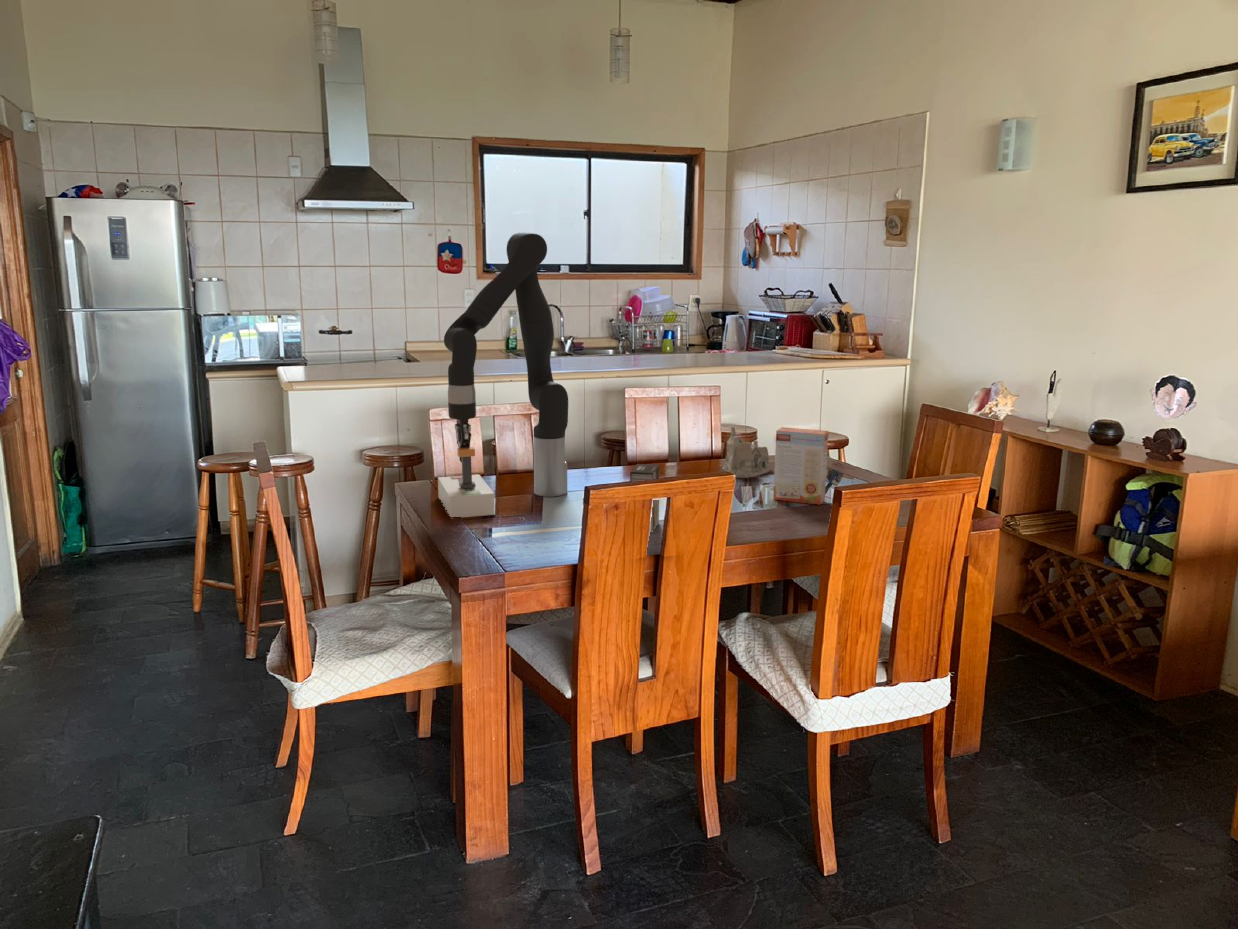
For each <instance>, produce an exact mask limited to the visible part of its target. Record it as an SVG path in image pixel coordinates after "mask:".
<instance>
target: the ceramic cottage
mask: <svg viewBox="0 0 1238 929" xmlns="http://www.w3.org/2000/svg"><path fill="white" fill-rule="evenodd" d="M730 428H731V429H730V437H729V439H727V441H726V444H727V453H726V457H725V463H724V464H723V465H722V469H726V470H724V471H727V472H734V473H735V474H736V477H735V478H740V479H741V478H742V479H745V478H746V479H747V478H748V479H749V478H756V477H757V476H761V475H763V474H766V473H769V472H770V468H769V466H768V464H769V461H770V460H769V458H770V457H769V455H770V454H769V451H768V450H769V449H768V447H767V446H758V445H759V444H758V440H757V439H756V440H753V444H752V443H751V442H750V441H745V442H744V440H743V439H742V437H740V436H739V435H738V434H736V432H737V431H736V428H735V426H734V425H733V426H732V425H731V427H730Z"/></svg>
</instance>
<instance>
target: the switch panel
mask: <svg viewBox="0 0 1238 929" xmlns="http://www.w3.org/2000/svg"><path fill="white" fill-rule="evenodd" d="M472 481H473V482H474V483H475V488H463V489H461V488H460V487H459V482H462V474H461V475H451V476H449V475H448V476H438V477H437V486H438V488H437V492H438V499H439V500H441V501H440V502H441V504H442V503H443V504H442V506H443V508H444V507H445V508H444V509H445V511H446V510H447V511H446V513H447V515H448V514H449V515H448V516H450V517H461V518H471V517H480V516H481V517H483V516H484V517H485V516H494V515H496V514H495V513H496V512H495V511H496V510H495V492H494V491H493V490H492V489H491V488H490V486H489V485H488V484H487V482H486V481H485V479H483V477H482V476H481V475H480V474H472ZM450 517H449V518H450Z"/></svg>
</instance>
